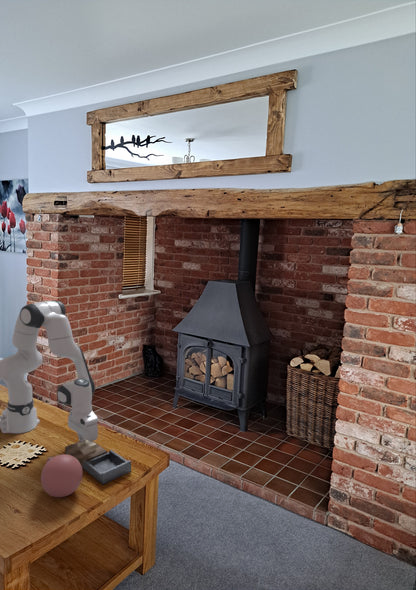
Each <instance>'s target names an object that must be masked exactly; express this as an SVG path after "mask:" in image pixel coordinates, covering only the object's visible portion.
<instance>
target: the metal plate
mask: <svg viewBox="0 0 416 590" xmlns="http://www.w3.org/2000/svg"><path fill="white" fill-rule="evenodd" d="M86 440H87V439H86ZM93 442H94V441H93ZM78 443H80V442H79V441H77V442H74V443H72V444H69V445H66V446H65V447H64V453H65V454H66V455H71V456H73V457H75V458H76V459H77V460H78V461H79V462H80V464H81V466H82V463H83V461H85V460H86V461H89V460H91V459H94V458H96V457H99V456H101V455H103V454H106V453H108V451H107V450H106V449H105V448H103V447H102V446H100V445H99V444H98V443H96V442H94V443H96V450H95V451H93V452H90V453H88V454H85V455H84V454H83V453H82V452H80V451H79V450H78Z"/></svg>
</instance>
